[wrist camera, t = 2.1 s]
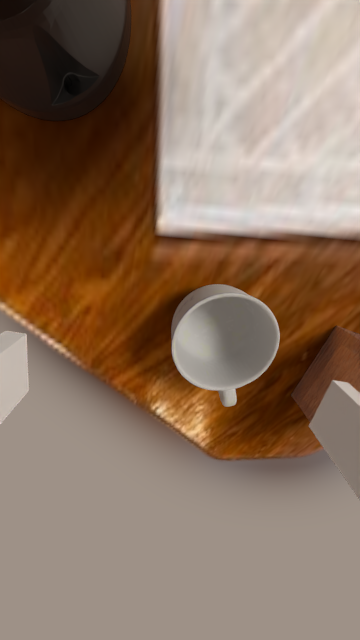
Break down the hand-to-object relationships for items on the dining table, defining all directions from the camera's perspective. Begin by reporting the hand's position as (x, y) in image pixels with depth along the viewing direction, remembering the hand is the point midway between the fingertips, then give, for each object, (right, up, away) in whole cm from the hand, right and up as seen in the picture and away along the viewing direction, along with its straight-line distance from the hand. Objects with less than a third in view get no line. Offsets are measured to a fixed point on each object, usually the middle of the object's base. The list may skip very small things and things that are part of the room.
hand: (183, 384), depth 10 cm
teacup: (+4, +2, +21) cm, 21 cm away
